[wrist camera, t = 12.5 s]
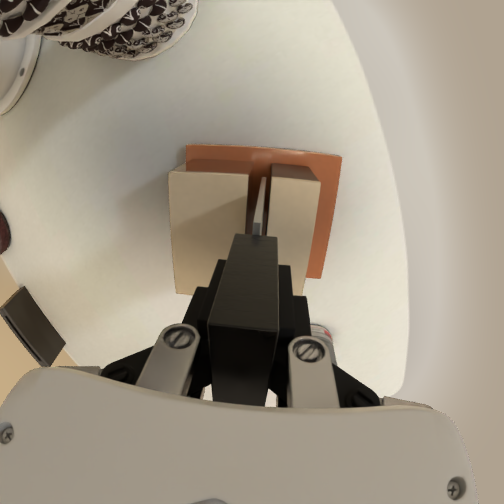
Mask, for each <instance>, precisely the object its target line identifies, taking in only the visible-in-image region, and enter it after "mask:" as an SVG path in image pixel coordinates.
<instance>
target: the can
mask: <svg viewBox="0 0 504 504" xmlns="http://www.w3.org/2000/svg"><path fill="white" fill-rule="evenodd" d="M9 243H10V232H9V227H8V224H7V222H6V219H5V218H4V216H3V214H2V213H1V212H0V254H2V253H3V252H4V251H6V250H7V248H8V245H9Z"/></svg>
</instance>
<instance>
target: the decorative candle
mask: <svg viewBox="0 0 504 504" xmlns="http://www.w3.org/2000/svg"><path fill="white" fill-rule="evenodd" d="M197 4H198V0H0V38H1V39H2V40H12V39H19V38H24V37H26V36H27V35H29V34H35V35H42V36H43V37H44V38H46V39H49V40H55V41H58V42H59V44H60V45H62V46H68V47H69V48H70V49H77V48H78V49H81V48H82V49H83V50H84V51H86V52H90V51H91V52H94V53H97V54H99V55H101V56H107V55H108V56H109V57H111V58H118V59H125V60H132V61H137V60H141V59H146V58H150V57H154V56H156V55H158V54H159V53H161V52H163V51H165V50H166V49H168V48H170V47H172V46H173V45H174V44H175V43H176V42H177V41H178V40H179V39H180V38H181V37H182V36H183V35H184V34H185V33H186V32H187V31H188V30H189V28H190V26H191V24H192V22H193V20H194V18H195V16H196V14H197Z"/></svg>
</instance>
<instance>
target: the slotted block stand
mask: <svg viewBox="0 0 504 504" xmlns="http://www.w3.org/2000/svg"><path fill="white" fill-rule="evenodd" d="M272 163H279V164H289V165H298V166H307V167H309V168H310V169H311V171H312V172H313V173H314V175H315V176H316V177H317V179H318V180H319V182H320V183H321V186H320V194H319V200H318V207H317V214H316V220H315V227H314V233H313V239H312V245H311V250H310V256H309V261H308V267H307V272H306V278H317V279H321V275H322V270H323V266H324V261H325V256H326V251H327V246H328V241H329V236H330V231H331V225H332V220H333V214H334V209H335V203H336V197H337V190H338V184H339V177H340V170H341V163H342V157H341V156H338V155H332V154H325V153H317V152H310V151H301V150H292V149H283V148H272V147H259V146H243V145H222V144H188V145H186V163H184V164H183V165H181V166H179V167H177V168H176V169H174V170H172V171H171V172H169V173H168V190H169V213H170V230H171V244H172V257H173V268H174V278H175V288H176V293H178V294H186V295H194V292H195V290H196V288H197V287H198V286H201V287H208V286H209V283H210V281H211V278H212V275H213V272H214V270H215V267H216V264H217V261H218V259H224V260H227V257H228V254H229V251H230V248H231V245H232V242H233V239H234V235H235V234H236V233H238V234H250V235H252V232H253V221H254V215H255V210H256V205H257V200H258V195H259V189H260V184H261V179H262V177H266V190H265V203H264V215H263V227H262V236H265V235H266V224H267V212H268V201H269V189H270V177H271V165H272Z"/></svg>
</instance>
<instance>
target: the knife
mask: <svg viewBox="0 0 504 504" xmlns="http://www.w3.org/2000/svg"><path fill="white" fill-rule="evenodd" d="M265 190H266V177H262V179H261V184H260V189H259V195H258V200H257V205H256V210H255V215H254V221H253V232H252V235H250V234H238V233H236V234H235V235H234V239H233V242H232V245H231V248H230V251H229V254H228V257H227V261H226V264H225V267H224V270H223V274H222V277H221V280H220V283H219V286H218V290H217V293H216V296H215V300H214V303H213V306H212V309H211V313H210V316H209V319H208V323H207V328H208V345H209V360H210V374H211V386H212V397H213V401H215V402H223V403H231V404H240V405H250V406H262V407H265V402H266V397H267V392H268V387H269V382H270V377H271V372H272V366H273V361H274V356H275V350H276V345H277V339H278V333H279V279H278V238H277V237H272V236H262V227H263V215H264V203H265Z"/></svg>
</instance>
